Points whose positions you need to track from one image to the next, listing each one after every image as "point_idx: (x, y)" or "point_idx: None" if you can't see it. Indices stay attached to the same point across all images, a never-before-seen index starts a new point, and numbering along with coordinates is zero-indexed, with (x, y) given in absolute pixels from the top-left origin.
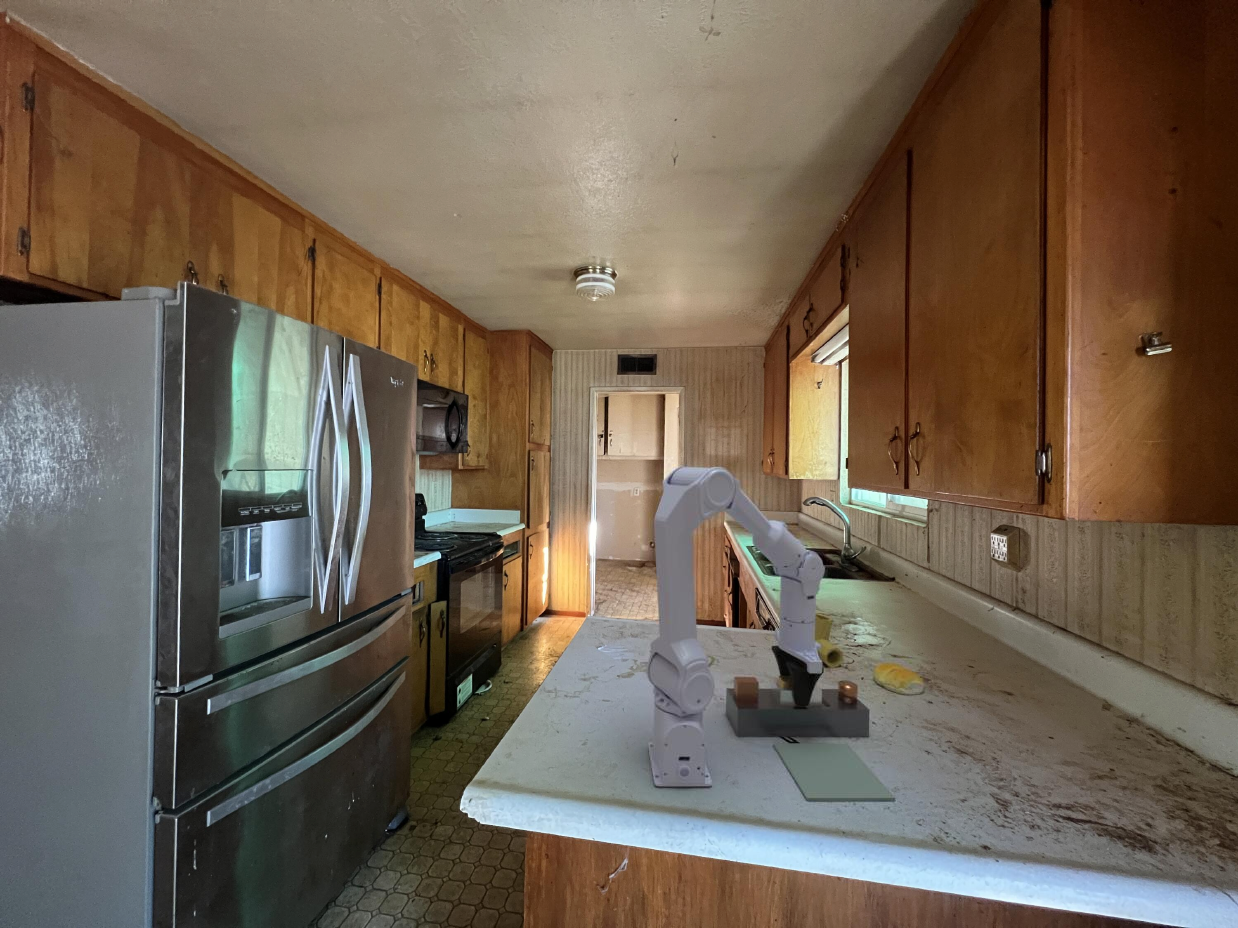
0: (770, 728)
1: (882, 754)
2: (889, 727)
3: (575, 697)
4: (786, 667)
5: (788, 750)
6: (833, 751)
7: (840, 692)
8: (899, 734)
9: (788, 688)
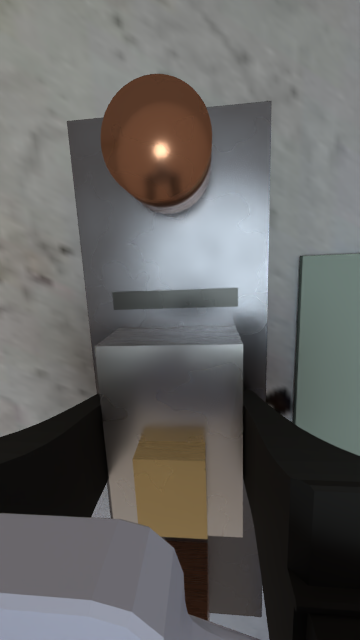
0: None
1: (349, 157)
2: (188, 30)
3: None
4: (80, 504)
5: (327, 441)
6: (342, 320)
7: (176, 206)
8: (234, 13)
9: (222, 497)
